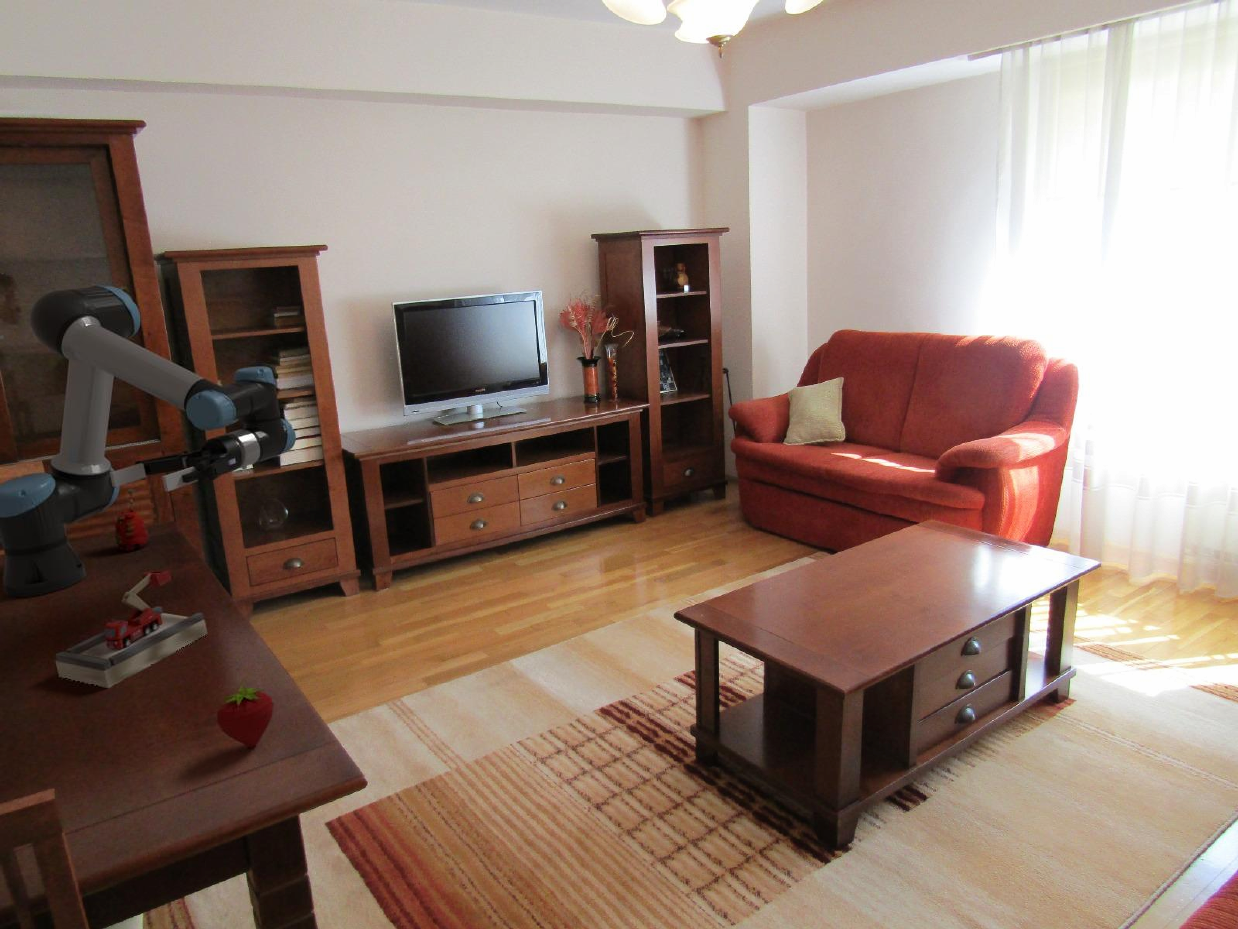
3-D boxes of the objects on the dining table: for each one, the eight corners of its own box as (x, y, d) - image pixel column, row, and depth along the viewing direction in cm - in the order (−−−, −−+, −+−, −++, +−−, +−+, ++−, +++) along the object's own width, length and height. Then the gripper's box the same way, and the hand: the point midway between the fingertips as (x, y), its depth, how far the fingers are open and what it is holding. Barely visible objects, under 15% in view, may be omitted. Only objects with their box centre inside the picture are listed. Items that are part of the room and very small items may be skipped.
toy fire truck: (104, 650, 149) (91, 598, 146) (165, 616, 162) (154, 567, 159) (120, 652, 148) (107, 599, 145) (179, 617, 161) (169, 568, 158)
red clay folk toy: (113, 548, 211) (99, 489, 207) (143, 540, 216) (130, 481, 212) (125, 554, 206) (112, 494, 202) (156, 545, 211) (143, 486, 207)
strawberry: (217, 748, 123) (204, 684, 120) (271, 727, 128) (259, 665, 125) (231, 766, 119) (218, 700, 116) (286, 743, 123) (274, 679, 121)
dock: (160, 626, 165) (156, 606, 164) (207, 634, 160) (203, 613, 159) (59, 677, 147) (53, 655, 146) (108, 688, 142) (103, 665, 141)
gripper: (280, 473, 174) (192, 506, 155) (189, 467, 184) (96, 497, 165) (273, 436, 172) (184, 465, 153) (182, 432, 182) (87, 458, 163)
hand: (138, 481), depth 159 cm, fingers open, 13 cm apart
